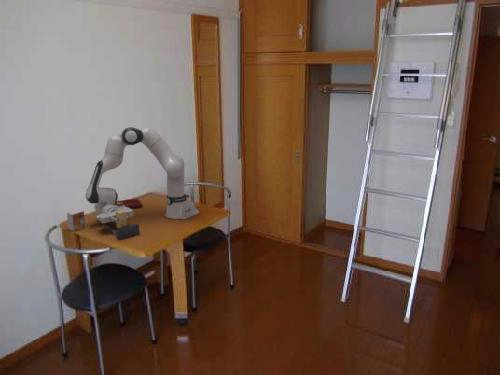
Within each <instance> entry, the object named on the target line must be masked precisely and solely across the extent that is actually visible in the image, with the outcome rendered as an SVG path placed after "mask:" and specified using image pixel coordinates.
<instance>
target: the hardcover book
mask: <svg viewBox="0 0 500 375" xmlns="http://www.w3.org/2000/svg"><path fill="white" fill-rule="evenodd" d="M115 205H124V206H125V207H128V208H130V209H132V210H138V209H143V207H144V204H143V202H142V200H140V198H138V197H137V198H129V199H123V200H117V203H116V204H115Z"/></svg>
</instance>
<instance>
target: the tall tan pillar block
mask: <svg viewBox="0 0 500 375" xmlns="http://www.w3.org/2000/svg"><path fill="white" fill-rule="evenodd" d="M116 218H118V219H119V221H118V222H116V221H115V222H116V223H117V225H116V229H117V228H121V227H125V226H128V219H127V212H126V211H124V210H119V211H116Z"/></svg>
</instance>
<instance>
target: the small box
mask: <svg viewBox="0 0 500 375" xmlns="http://www.w3.org/2000/svg"><path fill="white" fill-rule="evenodd" d="M66 218H67V227H68V230H70V231H73V232H75V231H78V230H82V229H83V228H86V221H85V220H86V219H85V211H84V210H81V209H76V210H72V211H69V212H67V213H66Z"/></svg>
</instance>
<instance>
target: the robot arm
mask: <svg viewBox="0 0 500 375" xmlns="http://www.w3.org/2000/svg"><path fill="white" fill-rule="evenodd" d="M138 143H139V144H140V143H141V144H143V145H144V146H145V147H146V149H148V150H149V152H150V153H151V154H152V155H153V156H154V157H155V158H156V160H157V161H158V163H159V165H160V166H161V167H162V168H163V170H164V171H165V173H166V174H167V176H166V191H167V192H166V212H165V217H166V218H169V219H173V220H174V219H175V220H177V219H178V220H186V219H188V218H191V217H193V216H196V215H198V214H199V213H200V211H199V210H198V209H197V208H196V205H195V204H194V203H193V202H192V201H191V200H189V199H190V197H191V195H190V194H186V193H185V161H184V158H183V157H182V156H180V155H176V154H175V153H174V152H173V150H172V148H171V147H170V145H169V144H168V143H167V141H165V139H163V137H162V136H161V135H160V134H159V133H158V132H157V131H156V130H154V129H153V128H152V127H151V126H146V127H143V128H142V129H138V128H135V127H134V126H133V127H131V126H128V127H126V128H123V130H122V132H121V133H120V135H111V136H109V137H108V139H107V142H106V144H105V147H104V148H105V149H104V153H103V157H102V158H101V160H98V161H97V163H96V165H95V169H94V171H93V173H92V177H91V180H90V182H89V186H88V188H87V189H86V191H85V199H86V201H87V202H89V203H90V204H94V206H93V207H94V210H95V212H96V213H97V214H98V215H97V216H95V219H97V220H98V221H99V222H100V223H101V224H106V223H110V222H118V221H119V219H118V218H116V211H119V210H124V211H126V212H127V220H128V219H129V218H130V217H133V216H134V209H130V208H128V207H125V206H124V205H115V204H116V203H117V201H118V200H119V195H118V193H117V191H116V189H115V188H113V187H99V185H100V183H101V180H102V177H103V175H104V174H105V173H106V172H108V171H110V170H114V169H116V168H118V167H120V166H121V165H122V163H123V160H124V152H125V149H126V147H127V146H134V145H135V146H136V145H137V144H138Z"/></svg>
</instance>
